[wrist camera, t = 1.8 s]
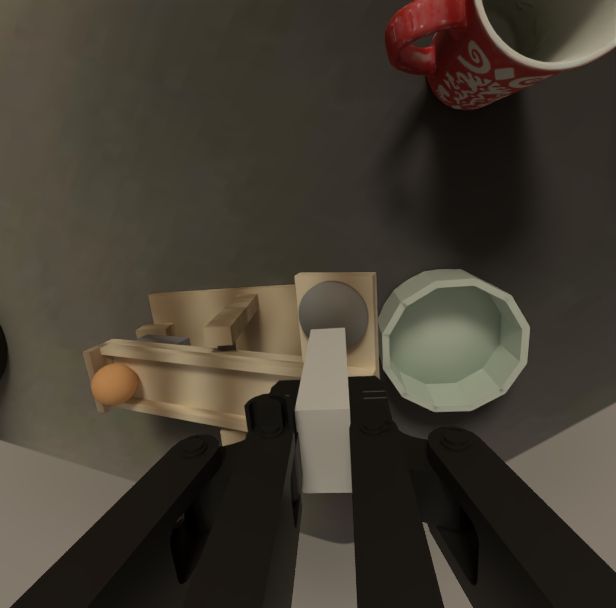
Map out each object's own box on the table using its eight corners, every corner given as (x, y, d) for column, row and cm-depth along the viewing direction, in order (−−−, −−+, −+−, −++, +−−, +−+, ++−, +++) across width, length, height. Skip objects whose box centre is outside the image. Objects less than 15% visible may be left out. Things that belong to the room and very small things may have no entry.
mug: (530, -17, 29) (684, -189, 16) (530, 110, 31) (665, 50, 18) (365, 18, 30) (386, -113, 18) (377, 138, 33) (404, 100, 20)
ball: (122, 390, 34) (87, 409, 31) (114, 355, 33) (77, 371, 30) (149, 395, 32) (115, 416, 29) (141, 359, 31) (105, 377, 29)
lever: (150, 383, 38) (99, 415, 33) (125, 266, 35) (63, 281, 30) (389, 418, 29) (371, 471, 24) (385, 263, 26) (363, 283, 20)
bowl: (378, 388, 39) (384, 413, 35) (374, 273, 36) (380, 284, 31) (500, 383, 38) (523, 409, 34) (508, 264, 35) (534, 274, 30)
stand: (162, 391, 41) (105, 454, 31) (142, 293, 38) (72, 328, 28) (317, 385, 40) (310, 450, 30) (308, 283, 37) (298, 316, 27)
